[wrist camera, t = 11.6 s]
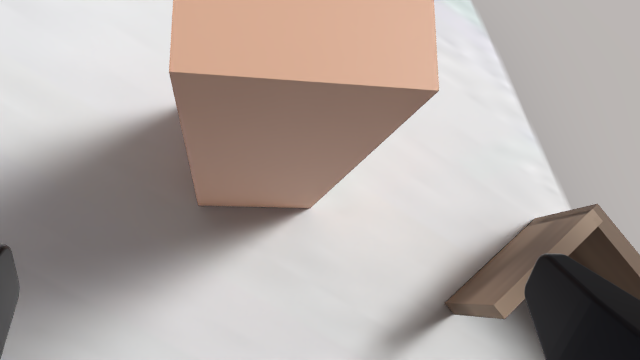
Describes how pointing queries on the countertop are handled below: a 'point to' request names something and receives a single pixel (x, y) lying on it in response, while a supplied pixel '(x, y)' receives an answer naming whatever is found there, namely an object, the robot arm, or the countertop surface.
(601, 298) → the robot arm
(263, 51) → the peach block
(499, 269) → the walnut crate
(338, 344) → the countertop surface
